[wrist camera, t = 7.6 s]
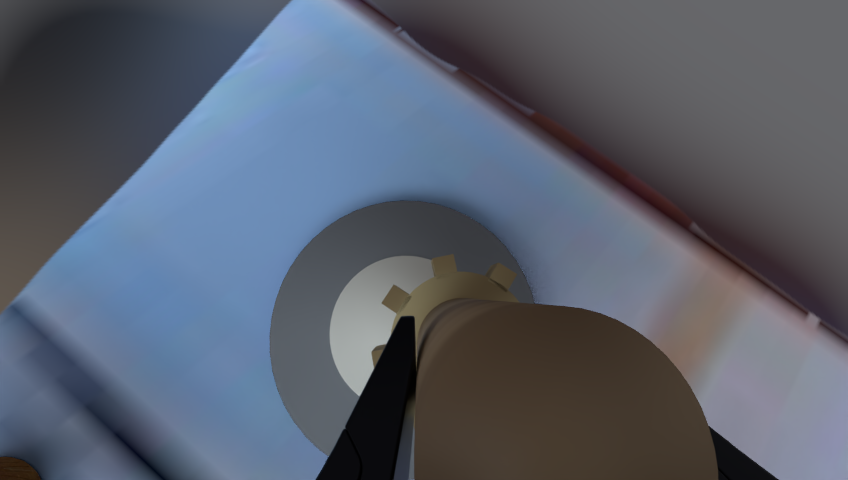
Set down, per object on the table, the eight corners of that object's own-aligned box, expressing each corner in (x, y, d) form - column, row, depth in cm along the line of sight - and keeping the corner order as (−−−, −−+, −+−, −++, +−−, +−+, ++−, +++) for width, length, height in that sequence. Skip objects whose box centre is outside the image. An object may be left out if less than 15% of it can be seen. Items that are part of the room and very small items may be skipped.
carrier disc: (583, 371, 22) (594, 376, 21) (358, 528, 20) (353, 545, 19) (445, 163, 24) (447, 155, 23) (233, 286, 22) (221, 285, 21)
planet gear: (567, 314, 16) (952, 366, 4) (485, 462, 14) (722, 1065, 3) (433, 228, 16) (468, 80, 5) (343, 364, 15) (121, 572, 4)
